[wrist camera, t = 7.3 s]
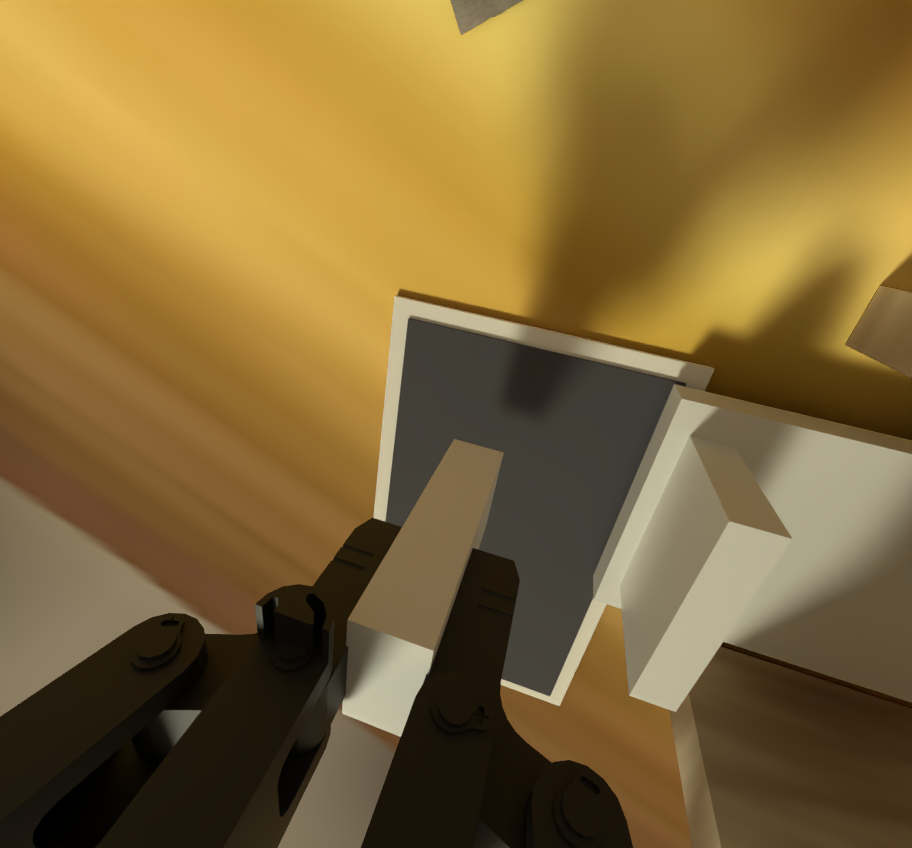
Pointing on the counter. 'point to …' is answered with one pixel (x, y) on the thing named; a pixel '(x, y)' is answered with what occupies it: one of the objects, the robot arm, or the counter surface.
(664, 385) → the pad
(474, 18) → the condiment
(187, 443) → the counter surface
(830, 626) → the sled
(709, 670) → the tunnel
